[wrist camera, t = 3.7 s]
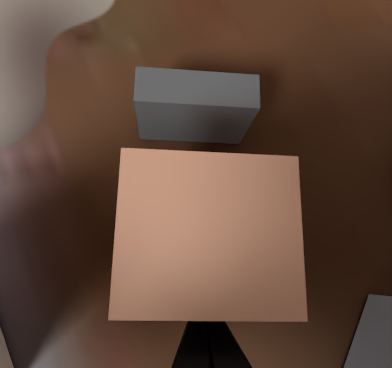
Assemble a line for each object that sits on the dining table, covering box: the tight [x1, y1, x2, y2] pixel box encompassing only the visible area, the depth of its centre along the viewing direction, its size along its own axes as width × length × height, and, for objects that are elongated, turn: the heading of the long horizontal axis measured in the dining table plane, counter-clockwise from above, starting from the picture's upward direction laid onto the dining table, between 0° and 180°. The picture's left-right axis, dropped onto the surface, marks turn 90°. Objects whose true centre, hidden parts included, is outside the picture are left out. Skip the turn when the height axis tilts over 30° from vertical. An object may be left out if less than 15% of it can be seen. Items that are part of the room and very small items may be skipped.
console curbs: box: [134, 67, 260, 144], centre depth 15 cm, size 32×6×4 cm, turn 89°
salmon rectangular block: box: [108, 148, 308, 322], centre depth 12 cm, size 4×4×8 cm
